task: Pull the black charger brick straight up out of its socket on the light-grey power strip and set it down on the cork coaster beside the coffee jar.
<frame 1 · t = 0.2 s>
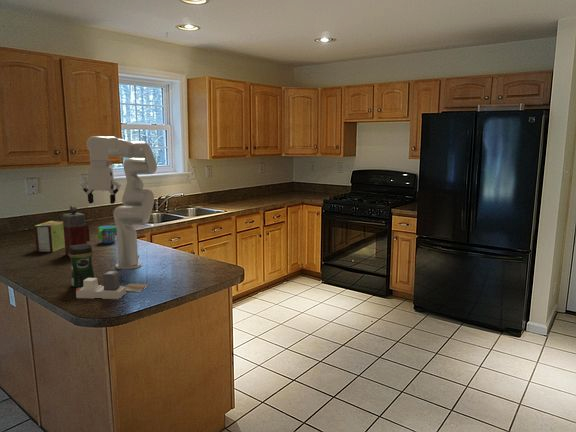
hand: (101, 203, 196), 36 cm above the worktop, tool pointing down, fingers open, 9 cm apart
charger: (111, 289, 183), point 3 cm above the worktop, touching power strip
protein box: (52, 249, 262), on the worktop
coaster: (134, 288, 193), on the worktop
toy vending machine: (78, 254, 250), on the worktop
snack cup: (108, 242, 279), on the worktop
power strip: (101, 295, 184), on the worktop
coffee jar: (83, 285, 198), on the worktop
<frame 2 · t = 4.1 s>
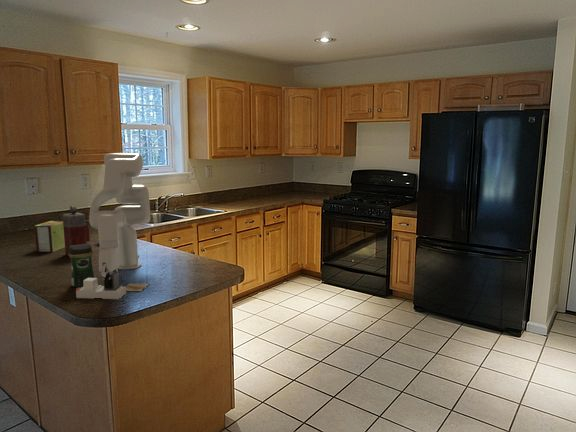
hand: (111, 286, 183), 4 cm above the worktop, tool pointing down, fingers closed on charger, 4 cm apart
charger: (111, 289, 183), point 3 cm above the worktop, touching gripper, power strip
everything else where it was.
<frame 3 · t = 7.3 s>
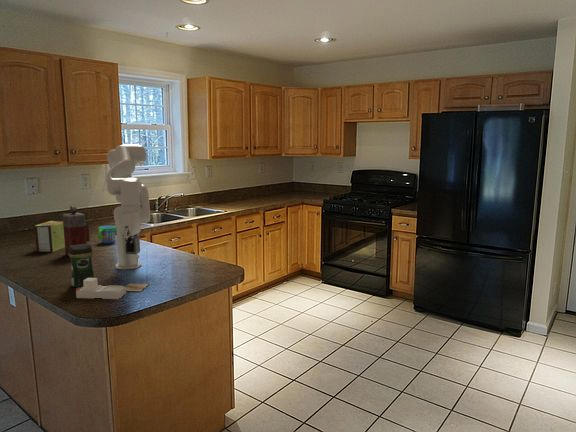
hand: (132, 249, 190), 17 cm above the worktop, tool pointing down, fingers closed on charger, 4 cm apart
charger: (133, 253, 191), point 16 cm above the worktop, touching gripper
everything else where it was.
when the fingers open (3 cm above the worktop, at t = 10.6 s): charger stays where it is, resting on coaster.
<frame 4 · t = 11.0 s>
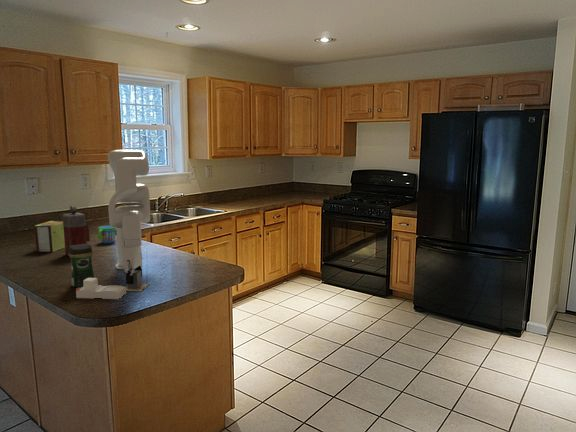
hand: (134, 280, 193), 4 cm above the worktop, tool pointing down, fingers open, 9 cm apart
charger: (134, 287, 193), point 1 cm above the worktop, touching coaster
everything else where it was.
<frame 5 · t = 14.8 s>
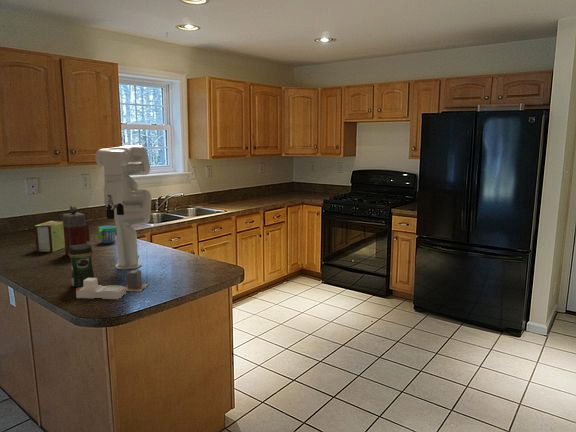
hand: (115, 216, 198), 30 cm above the worktop, tool pointing down, fingers open, 9 cm apart
nothing on the worktop moved.
at the end: charger inside the target area on the coaster (0.1 cm from its centre), point 0.6 cm above the coaster's base; charger tilted 0°; the gripper is holding nothing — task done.
